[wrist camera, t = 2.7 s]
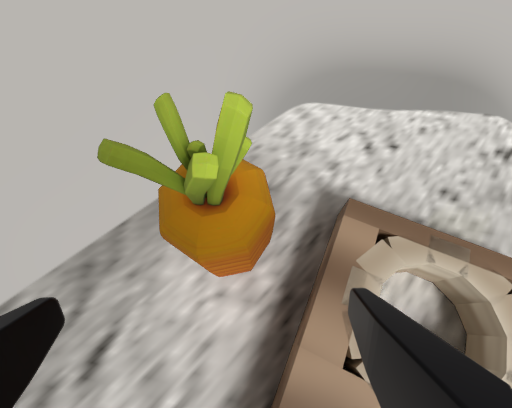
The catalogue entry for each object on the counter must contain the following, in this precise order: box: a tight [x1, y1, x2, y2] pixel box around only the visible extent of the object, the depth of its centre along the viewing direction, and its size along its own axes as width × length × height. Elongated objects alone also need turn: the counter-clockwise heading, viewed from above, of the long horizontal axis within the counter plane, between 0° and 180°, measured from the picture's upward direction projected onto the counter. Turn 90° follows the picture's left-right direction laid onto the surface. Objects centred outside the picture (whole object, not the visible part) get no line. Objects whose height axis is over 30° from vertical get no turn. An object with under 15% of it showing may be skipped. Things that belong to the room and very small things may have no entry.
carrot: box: [97, 92, 275, 277], centre depth 12 cm, size 5×5×15 cm
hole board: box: [271, 198, 512, 408], centre depth 14 cm, size 18×14×3 cm
